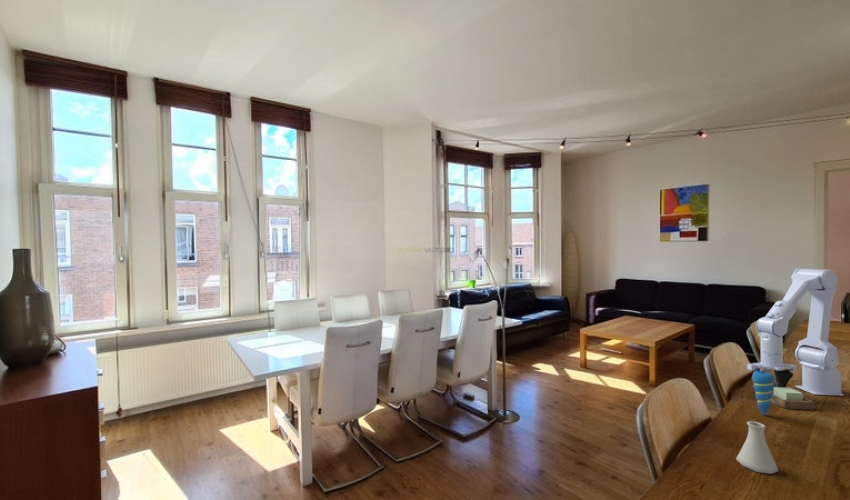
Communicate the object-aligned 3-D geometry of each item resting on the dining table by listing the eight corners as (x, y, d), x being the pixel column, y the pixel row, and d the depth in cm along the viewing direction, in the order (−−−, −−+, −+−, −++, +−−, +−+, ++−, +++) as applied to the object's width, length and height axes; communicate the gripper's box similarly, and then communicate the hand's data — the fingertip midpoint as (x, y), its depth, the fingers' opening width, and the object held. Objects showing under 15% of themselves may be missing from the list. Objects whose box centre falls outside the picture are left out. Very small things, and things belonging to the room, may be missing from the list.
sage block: (803, 406, 122) (802, 391, 122) (786, 406, 123) (786, 391, 123) (776, 394, 132) (776, 380, 132) (761, 394, 133) (761, 380, 133)
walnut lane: (815, 409, 120) (815, 402, 120) (784, 408, 121) (784, 401, 121) (794, 400, 128) (794, 393, 128) (766, 399, 128) (766, 392, 128)
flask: (729, 458, 93) (728, 418, 93) (756, 456, 94) (755, 416, 94) (757, 475, 86) (756, 432, 86) (786, 474, 86) (785, 430, 86)
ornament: (779, 419, 113) (778, 370, 113) (759, 418, 114) (758, 369, 114) (767, 412, 118) (766, 364, 118) (748, 411, 120) (748, 364, 120)
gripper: (758, 355, 128) (758, 394, 128) (804, 355, 127) (804, 396, 127) (742, 349, 135) (743, 387, 135) (786, 350, 134) (786, 388, 134)
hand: (771, 391), depth 131 cm, fingers open, 5 cm apart
